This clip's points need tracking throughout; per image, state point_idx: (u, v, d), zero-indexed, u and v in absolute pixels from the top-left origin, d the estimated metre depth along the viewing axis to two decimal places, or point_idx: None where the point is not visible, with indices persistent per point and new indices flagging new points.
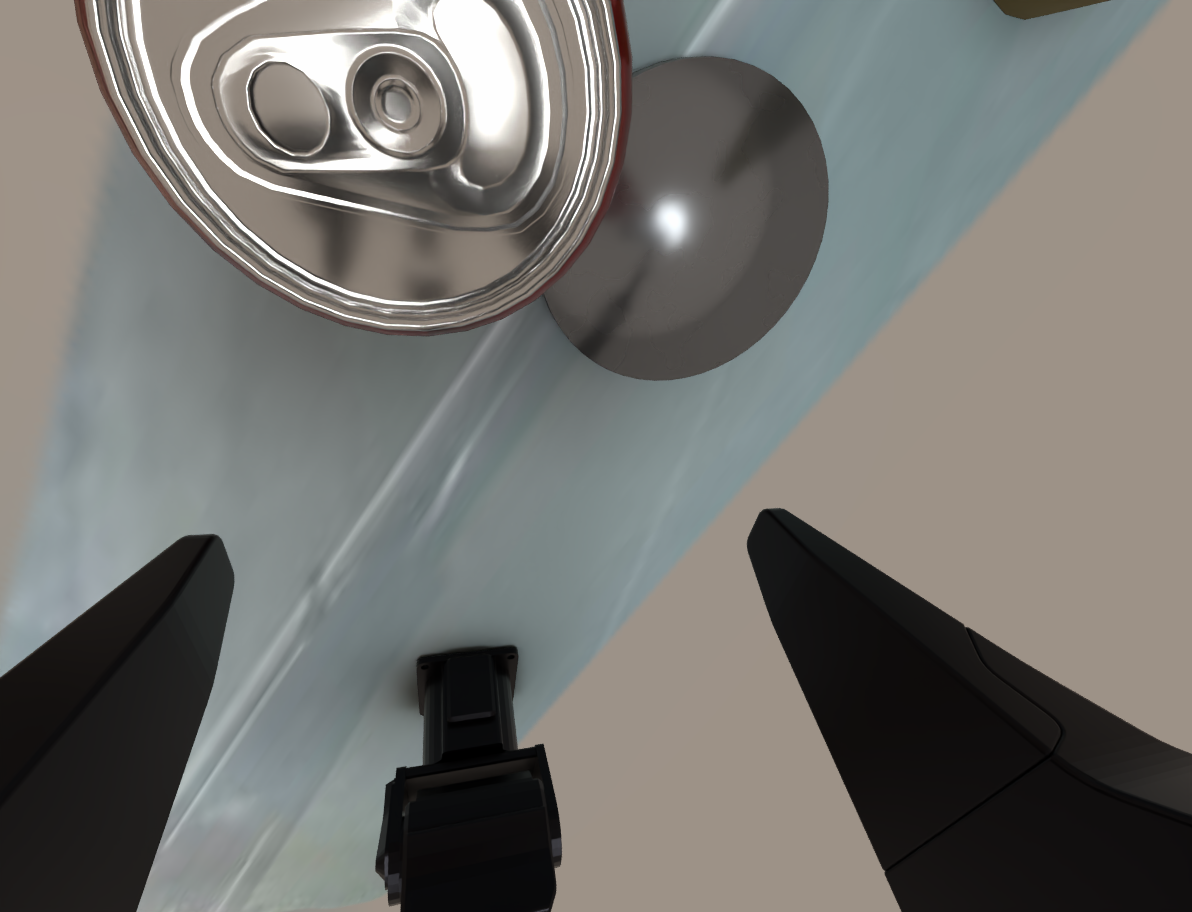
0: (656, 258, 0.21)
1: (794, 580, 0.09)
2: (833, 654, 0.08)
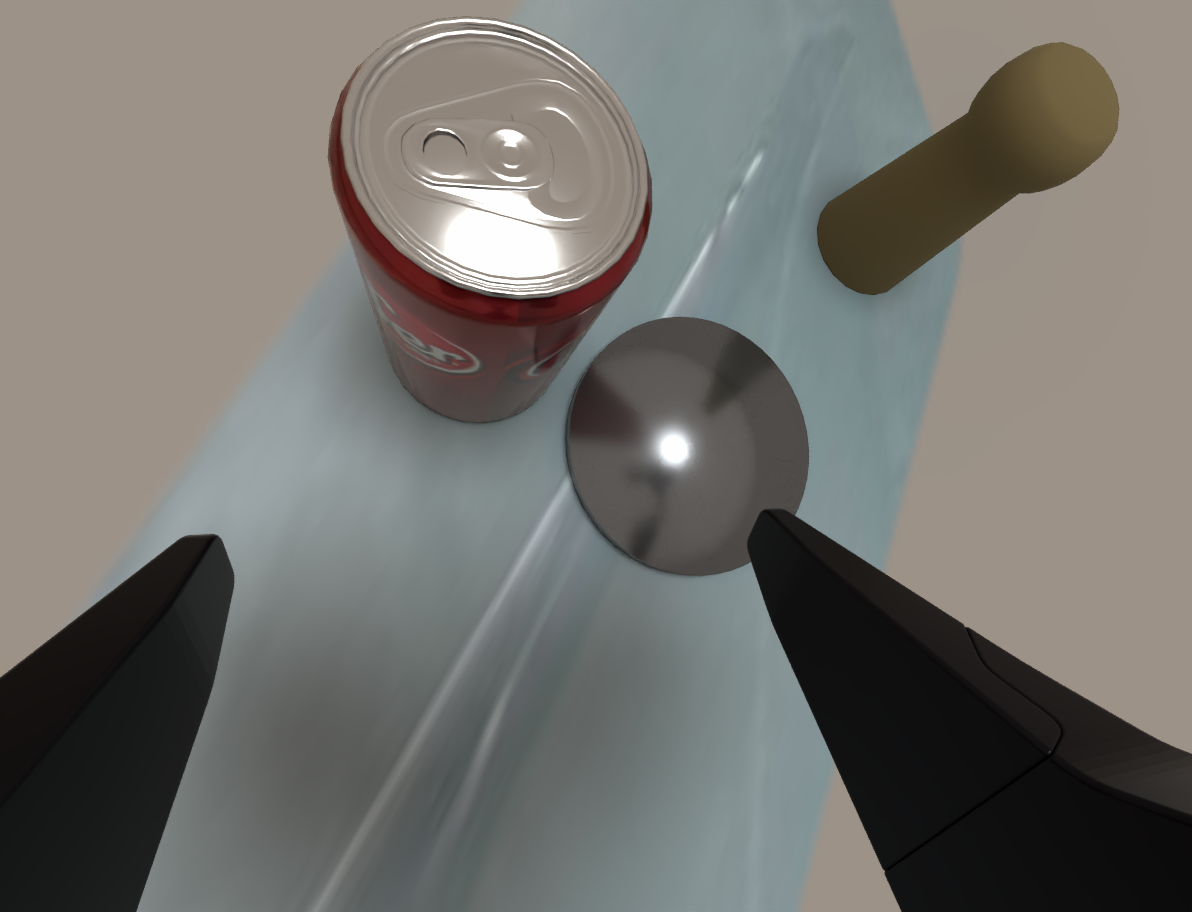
0: (673, 453, 0.24)
1: (794, 580, 0.09)
2: (833, 654, 0.08)
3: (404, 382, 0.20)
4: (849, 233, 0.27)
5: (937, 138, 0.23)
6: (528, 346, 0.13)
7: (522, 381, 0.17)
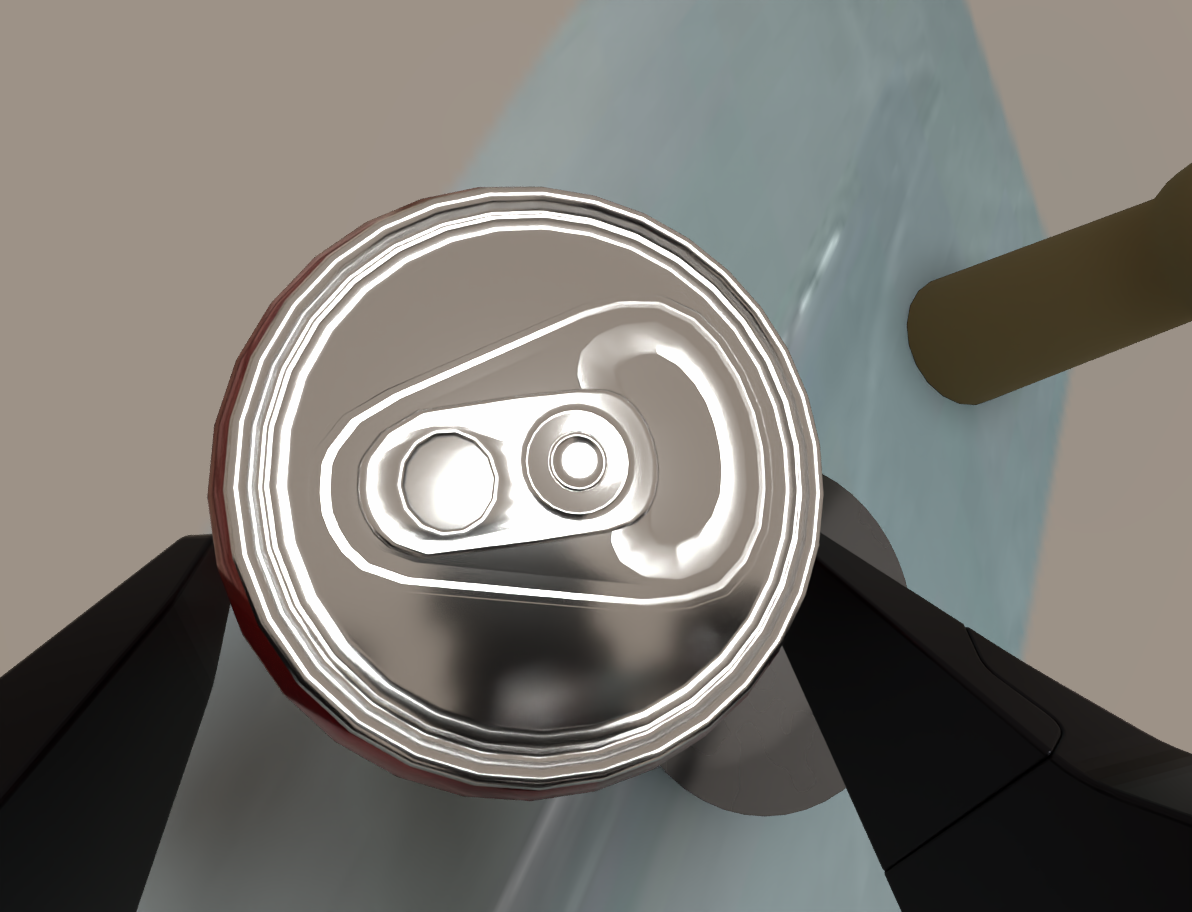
0: None
1: None
2: (833, 654, 0.08)
3: None
4: (955, 338, 0.21)
5: (1095, 237, 0.17)
6: None
7: None
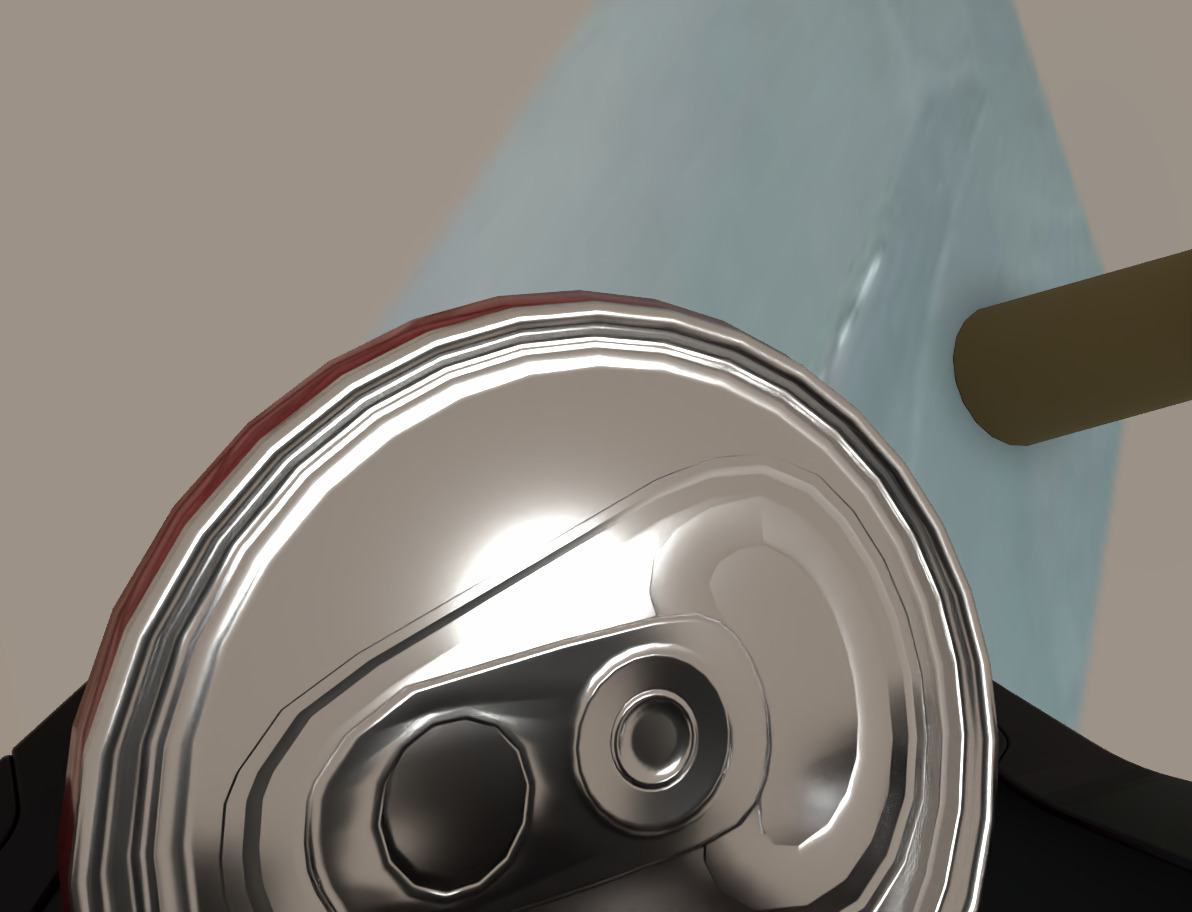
0: None
1: None
2: None
3: None
4: (1010, 377, 0.19)
5: (1185, 273, 0.15)
6: None
7: None
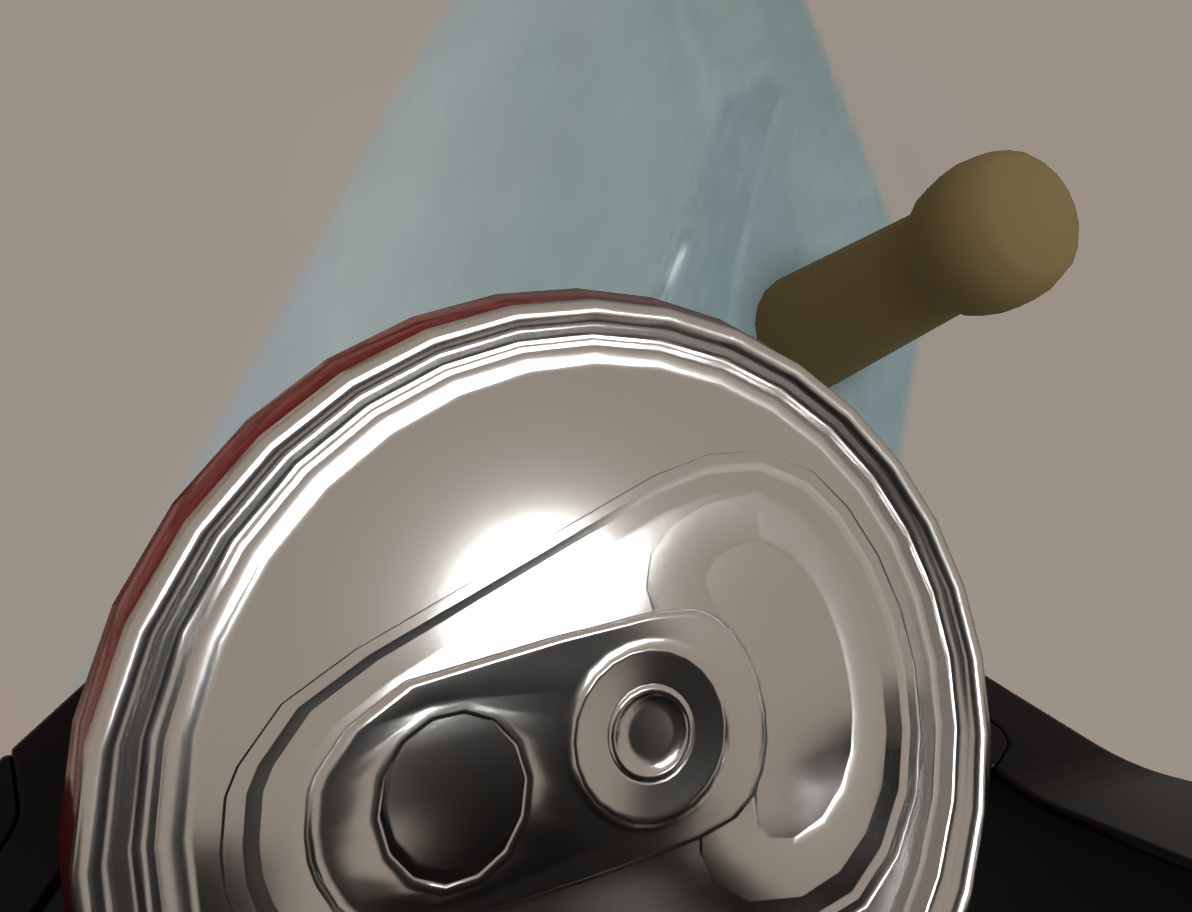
0: None
1: None
2: None
3: None
4: (789, 336, 0.24)
5: (874, 247, 0.20)
6: None
7: None
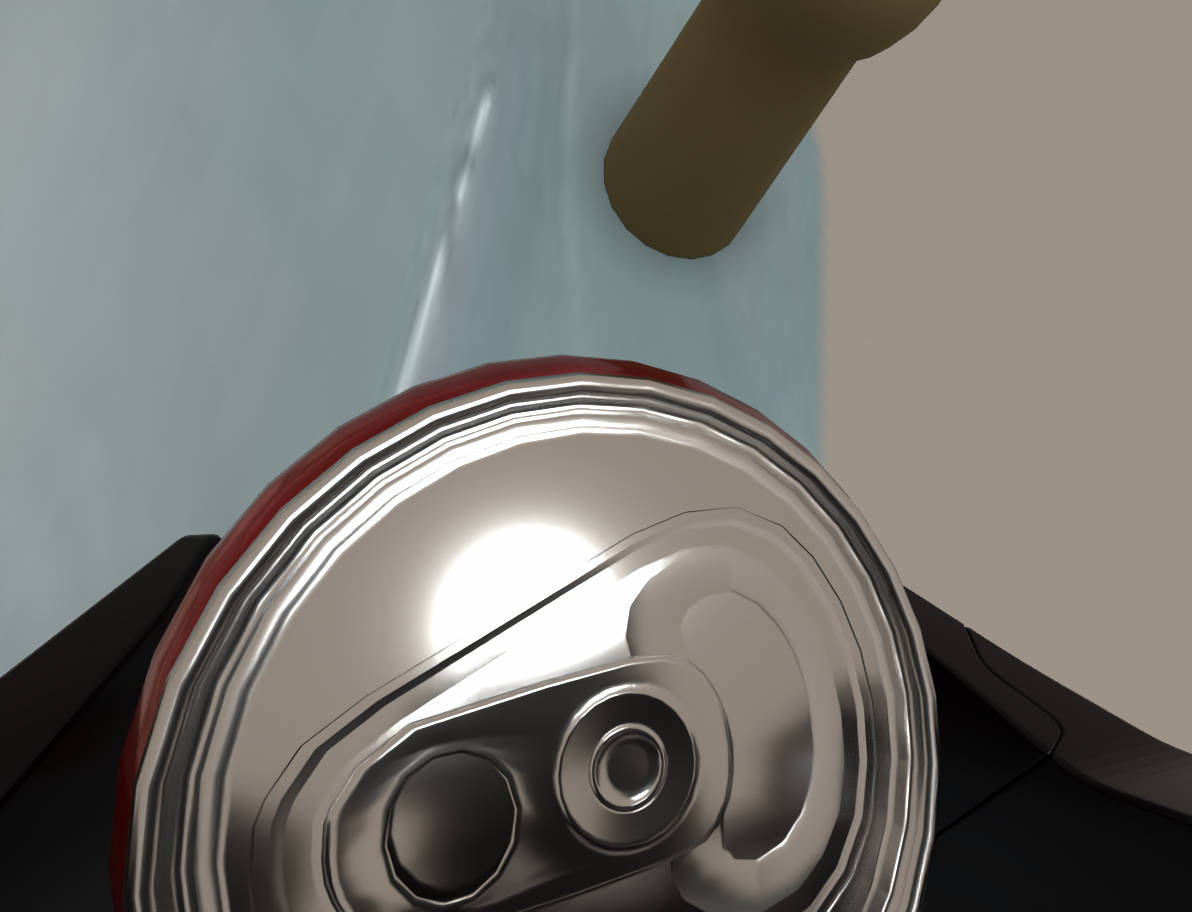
0: None
1: None
2: None
3: None
4: (641, 183, 0.18)
5: (706, 2, 0.14)
6: None
7: None
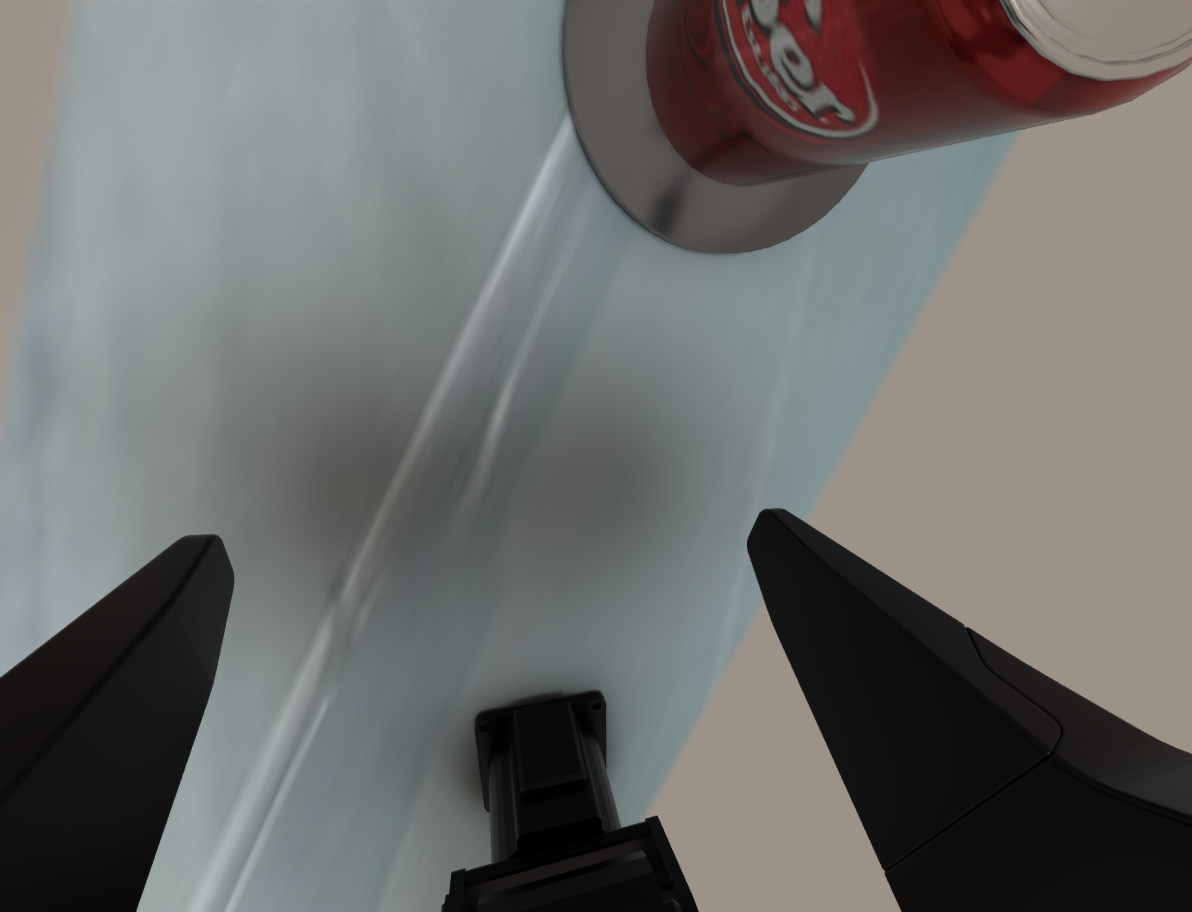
0: None
1: (794, 580, 0.09)
2: (833, 654, 0.08)
3: (662, 102, 0.16)
4: None
5: None
6: (965, 133, 0.10)
7: (855, 162, 0.13)
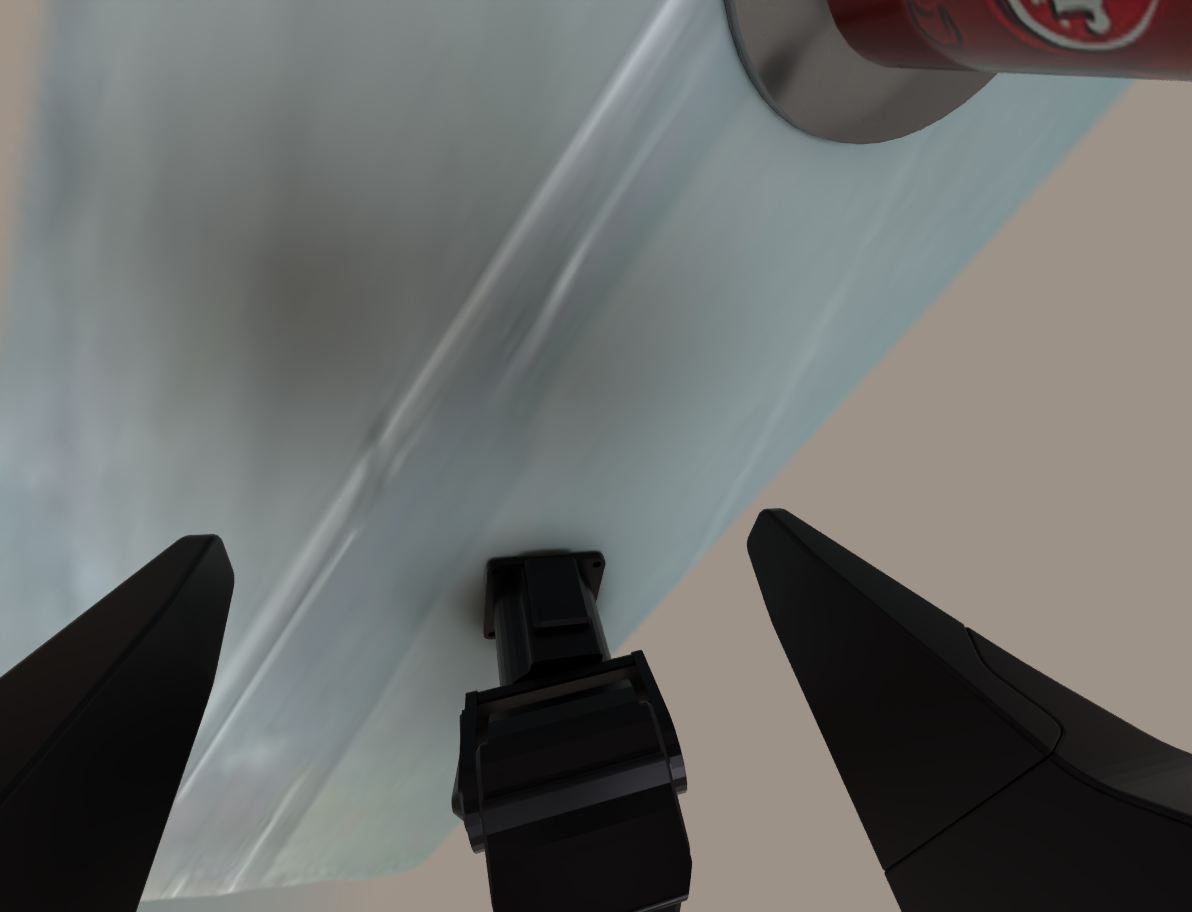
0: None
1: (794, 580, 0.09)
2: (833, 654, 0.08)
3: None
4: None
5: None
6: None
7: (1050, 74, 0.12)
